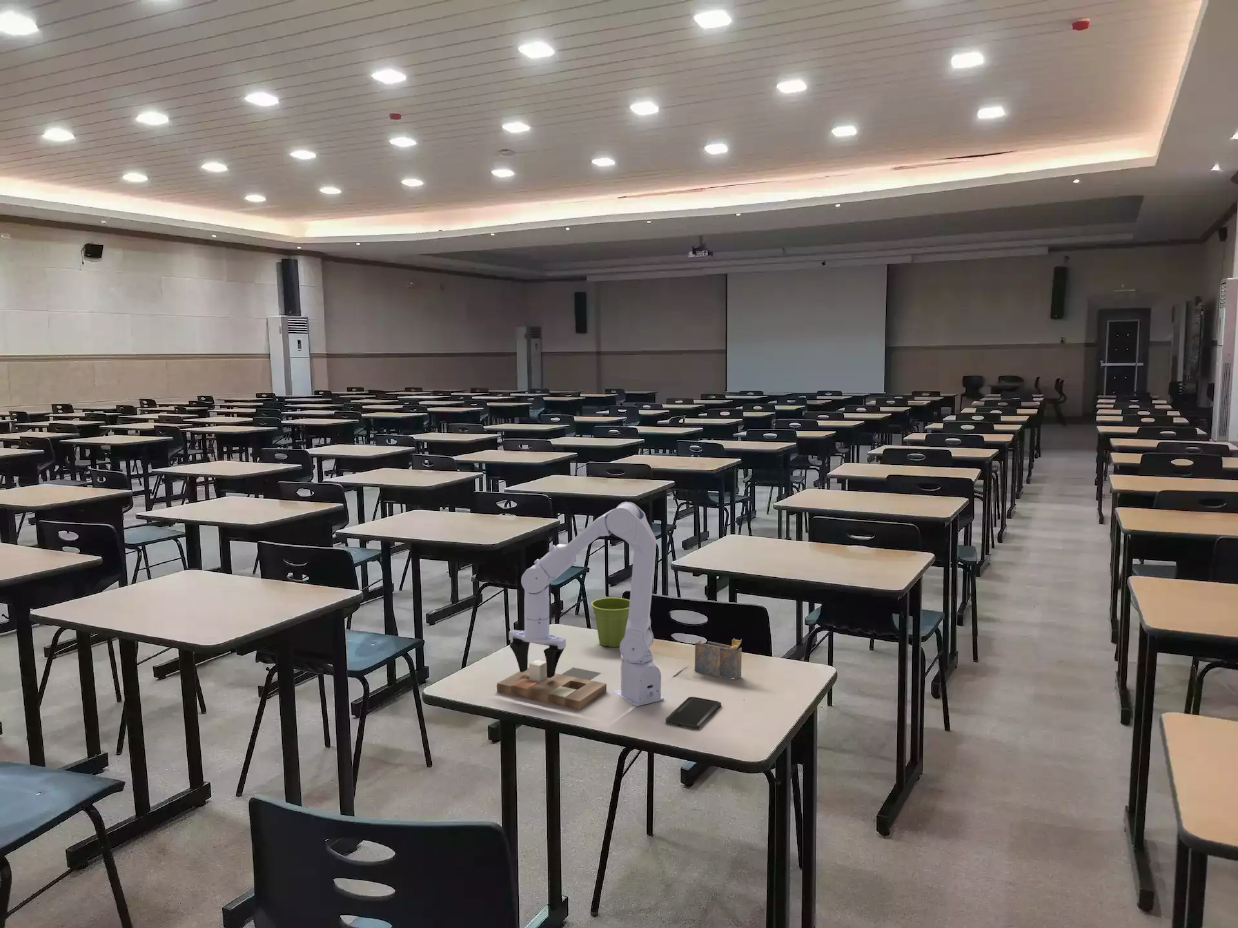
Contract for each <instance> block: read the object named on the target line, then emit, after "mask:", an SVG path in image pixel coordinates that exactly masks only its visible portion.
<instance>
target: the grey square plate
mask: <svg viewBox="0 0 1238 928" xmlns="http://www.w3.org/2000/svg"><path fill="white" fill-rule="evenodd" d="M561 674H562V675H567V676H571V677H576V678H581V679H586V680H591V681H592V680H593V679H595V678H596V677H597V676H599V675H602V672H598V671H593V670H588V669H583V668H579V667H578V668H577V667H571V668H569V669H567V670H566V671H565V672H563V673H561Z"/></svg>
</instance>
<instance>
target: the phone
mask: <svg viewBox="0 0 1238 928" xmlns="http://www.w3.org/2000/svg"><path fill="white" fill-rule="evenodd" d="M720 707H721V708H722V702H720V701H718V700H713V699H709V698H703V697H696V696H688V697H687V698H686V699H685V700H684V701H683V702H682V703H681V704H680V705H679V706H678V707H676V708H675V709H674V710H673V711H672V712H671V713H670V714H669V715H668V716H667V717H666V718H665V724H667V725H668V726H672V727H673V726H674V727H679V728H683V729H689V730H694V731H698V730H701V729H702V728H703V726H704V725H706V724H707V722H709V721H710V719H712V718H713V716H714V715H715V714H716V713H717V712H718V711H719V710H720V709H721V708H720ZM719 708H720V709H719ZM718 709H719V710H718ZM717 710H718V711H717ZM700 728H701V729H700Z"/></svg>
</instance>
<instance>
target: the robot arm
mask: <svg viewBox="0 0 1238 928" xmlns="http://www.w3.org/2000/svg"><path fill="white" fill-rule="evenodd" d="M612 534H613V535H614V536H616V537H618V538H620V539H622V540H624V541H625V542H626V543H628V544H629V546H630V547H631V548H632V549H633V559H632V570H631V572H632V573H631V582H630V583H631V584H630V593H629V594H630V596H629V600H630V604H629V615H628V621H627V625H626V630H625V636H624V638H623V640H622V641H621V643H620V647H619V651H620V689H616V690H613V691H612V692H613V693H615V694H616V695H617V696H619V697H621V698H622V699H624V700H626V701H627V702H629V703H631V704H632V706H633V707H640V706H643V705H648V704H651V703H656V702H659V701H664V700H665V698H664V697H663V695H662V694H661V693H662V673H661V670H660V669H659V668H658V667H657V666H656V665H655V664H656V663H654V659H653V658H654V655H653V654H652V652H651V651H652V650H650V648H651V646H652V645H653V643H654V640H655V639H654V633H653V631H652V627H651V624H652V619H651V616H650V614H651V605H652V597H653V595H652V594H653V582H654V573H655V561H656V553H657V551H656V549H657V538H656V536H655V534H654V531H653V530H652V528H651V526H650V524H649V522H648V519H647V517H646V513H645V512H644V511H643V510H642V509H641V508H640V507H639V506H638V505H636V504H635V503H634V502H631V501H629V502H628V501H624V502H621V503H620V504H618V505H617V506H616V508H613V509H611V510H609V511H607V512H605V513H604V514H602V515H601V516H598V517H597V518H596V519H595V520H593V522H591V523H590V524H589V525H587V526H586V527H585V528H584V529H583V530H581V532H580V533H579V534H577V535H576V536H575V537H574V538H573V539H572V540H571V541H569V542H568V543H567V544H564V543H559V544H556V545H555V544H553V545H552V546H550V547H549V548H548V552H547V553H546V554H545V555H544V556H543V557H540V559H539V558H537V559H536V560H534V562H533V563H534V564H533V565H532V566H531V567H529V568H527V569H526V570H525V571H524V572H523V574H522V575H521V579H520V580H521V581H520V583H521V586H522V588H523V589H524V598H523V599H524V602H523V603H524V608H523V609H524V614H523V615H524V616H523V617H524V630H517V629H513V630H509V631H508V641H512V642H511V643H510V644H509V648H510V649H511V651H512V652H513V654H514V656H515V659H516V662H517V666H518V670H519V671H520V672H524V671H526V670H527V668H529V663H528V662H529V649H530V648H529V647H530V643H531V644H536V645H540V646H541V645H542V646H548V647H547V648H545V649H544V650H543V653H544V656H545V657H544V658H545V662H546V663H547V678H551V677H553V676H554V675H555V673H556V670H557V665H558V663H559V660H560V658H561V656H562V654H563V652H564V650H565V648H566V646H567V644H566V643H567V642H566V641H567V640H566V638H563V637H560V636H556V635H554V634H552V633H550V595H549V594H550V592H549V591H550V588H549V587H550V584H551V583H552V582H553V581H555V580H556V579H557V578H559V577H560V576H561V575H562V574H564V573H565V572H566V571H567V570H568V569H570V568H571V567H572V566H573V565H574V564H575V563H576V555H577V554H579V553H580V552H581V551H582V550H584V549H585V548H586V547H587V546H589V545H590V544H591V543H593V542H594V541H595V540H596V539H598V538H600V537H605V536H607V537H609V536H611V535H612Z"/></svg>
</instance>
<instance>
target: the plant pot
mask: <svg viewBox="0 0 1238 928" xmlns="http://www.w3.org/2000/svg"><path fill="white" fill-rule="evenodd" d="M629 604H630V599H627V598H622V597H605V598H597V599H595V600H593V601H591V603H590V606H591V607H592V610H593V613H594V616H595V617H594V618H595V623H596V630H597V635H598V637H597V638H598V641H599V644H600V646H603V647H607V646H608V647H610V648H620V643H621V641H622V640H623V638H624V636H625V630H626V625H627V621H628V615H629Z"/></svg>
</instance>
